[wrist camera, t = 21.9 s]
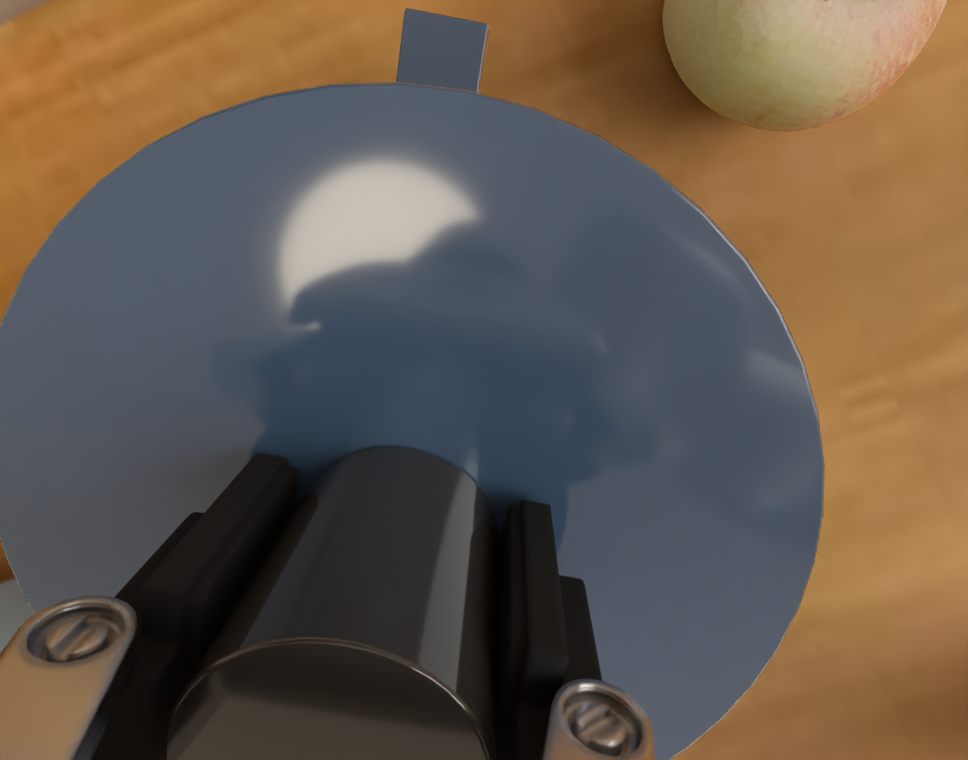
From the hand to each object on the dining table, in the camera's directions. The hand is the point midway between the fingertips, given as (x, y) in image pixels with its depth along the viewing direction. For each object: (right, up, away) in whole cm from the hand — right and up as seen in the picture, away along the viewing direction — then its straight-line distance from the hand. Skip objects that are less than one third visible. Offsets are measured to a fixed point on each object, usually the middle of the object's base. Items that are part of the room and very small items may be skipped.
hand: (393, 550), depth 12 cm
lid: (0, 0, +1) cm, 1 cm away
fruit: (+11, +16, +10) cm, 22 cm away
